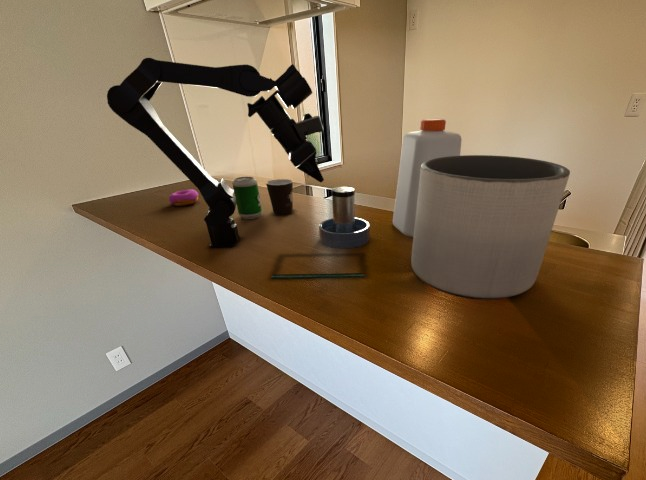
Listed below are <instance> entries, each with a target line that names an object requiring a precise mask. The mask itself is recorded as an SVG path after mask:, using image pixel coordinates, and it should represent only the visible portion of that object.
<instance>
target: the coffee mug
mask: <svg viewBox="0 0 646 480" xmlns="http://www.w3.org/2000/svg"><path fill="white" fill-rule="evenodd" d="M265 185H266V188H267V192H268V195H269V200H270V203H271V207H272V212H273V215H276V216H287V215H290V214H292V213H293V212H294V210H293V209H294V199H293V198H294V181H293V180H292V179H288V178H279V179H278V178H275V179H271V180H267V181H266V182H265Z"/></svg>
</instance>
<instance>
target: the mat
mask: <svg viewBox="0 0 646 480" xmlns="http://www.w3.org/2000/svg"><path fill="white" fill-rule="evenodd" d="M349 278H350V279H351V278H352V279H353V278H358V279H359V278H365V272H352V273H351V272H349V273H348V272H346V273H342V272H341V273H292V274H291V273H288V274H285V273H282V274H281V273H280V274H272V275H271V280H283V279H284V280H290V279H294V280H295V279H296V280H297V279H349Z"/></svg>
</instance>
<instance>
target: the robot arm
mask: <svg viewBox="0 0 646 480" xmlns="http://www.w3.org/2000/svg"><path fill="white" fill-rule="evenodd" d="M163 83H170V84H178V85H189V86H194V87H195V86H196V87H205V88H214V89H221V90H224V91H228V92H231V93H234V94H237V95H241V96H244V97H247V98H255V97H257V96H258V95H260V93H261V92H271V91H272V90H273V89H274V88H275V89H276V90H275V91H274V92H273V93H271V95H269V97H267V98H265V97H264V96H263V95H261V96H260V97H259V98H257V100H256V101H254V102H253V103H250V102H247V104H246V105H247V111H248V112H247V116H248V118H251V117H253V116H254V115H255V114H256V115H258V117H259V118H260V120H261V121H262V123H263V124H264V125H265V126H266V127H267V129H268V130H269V132H270V133H271V134H272V136H273V137H274V139H275V140H276V141H277V142H278V144H279V145H280V146H281V147H282V149H283V150H284V152H285V154H286V155H287V156H288V160H289V161H290V163H291V164H292V165H293V166H294V168H296V169H297V170H299V171H301V172H302V173H304V174H305V175H307V176H309V177H311V178H312V179H314V180H316V181H317V182H319V183H323V182H324V181H325V180H324V177H323V174H322V172H321V170H320V168H319V166H318V164H317V163H318V162H317V161H316V157H317V149H316V147H315V146H314V144H313V143H312V141H311V140H307V139H308V137H307V136H310V135H313V134H317V133H322V132H324V126H323V123H322V118H321V116H320V115H314V116H313V115H312V114H311V113H305V114H302V120H300V121H297V122H296V121H295V119H294V118H291V116H290V115H289V113H288V112H287V110H286V109H285V108H284V106H285V107H286V108H287V109H289V108H292V109H293V110H296V108H297V107H298V106H300V105H301V104H302V103H303V102H304V101H306V100H307V99H308V98H309V97H310V96H311V95H312V94H313V90H312V88H311V86H310V84H309V82H308V81H307V79H306V78H305V77H304V76H302V73H301V72H300V71H299V69H297V67H296V65H295V64H293V63H291V64H290V65H289V66H288V67H287V68H286V69H285V71H284V72H283V73H282V74H281V75H279V77H277V79H276V80H274V79H272V77H270V78H269V77H266V76H263V75H261V74H260V72H259V71H258V69H257V68H256V67H255V66H253V65H251V64H235V65H225V66H208V65H207V66H206V65H199V64H192V63H191V64H190V63H184V62H176V61H168V60H159V59H155V58H152V57H145V58H143V59H142V60H141V61H140V63H139V65H137V67H136V68H135V69H134V70H133V71H132V72H130V73H129V74H128V75H127V76H126V77H125V78H124V79H123V80H122V81H121V83H119V84H117V85H113V86H111V87H109V89H108V90H107V94H106V100H107V105H108V107H109V108H110V110H111V111H112V112H113V113H114V114H116V115H117V116H118V117H119V118H120V119H122V120H123V121H124V122H126V123H127V124H128V125H129V126H131V127H132V128H134V129H135V130H137V131H139V132H140V133H142V134H143V135H145V136H146V137H147V138H149V140H150V141H151V142H152V143H153V144H154V145H155V146H156V147H157V148H158V149H159V150H160V151H161V152H162V153H163V155H165V156H166V157H167V158H168V159H169V160H170V161H171V163H172V164H174V166H175V167H176V168H178V170H179V171H180V172H181V173H182V174H183V175H184V176H185V177H186V178H187V179H188V181H190V182H191V183H192V184H193V185H194V186H195V187H196V189H197V190H198V191H199V193H200V195H201V197H202V199H203V200H204V202H205V204H206V205H207V206H208V209H207V212H206V214H205V215H204V218H203V221H204V222H205V224H206V225H205V226H206V229H207V232H208V236H209V239H210V243H209V244H208V247H209V248H232V247H235V246H236V244H237V243H238V242H239V241H240V239H241V236H240V233H239V229H238V225H237V224H236V223H235V219H234V217H232V216H233V215H234V214H235V212H236V209H237V204H236V197H235V194H234V189H233V188H231V187H230V186H229V185H228V184H227V182H226V180H225V179H224V178H221V179H220V181H218V180H217V179H215V178H214V177H212V176H211V175H210V174H209V173H208V171H206V169H204V167H202V165H201V164H200V163H199V162H198V161H197V160H196V159H195V158H194V156H193V155H192V154H191V153H190V152H189V151H188V150H187V149H186V148H185V147H184V146H183V145H182V144H181V142H179V140H178V139H177V138H176V137H175V136H174V135H173V134H172V133H171V131H169V130H168V128H167V127H166V126H165V124H163V122H162V120H161V119H160V117H159V115H158V112H157V111H156V110H155V108H154V106H153V104H152V103H151V102H150V101H151V100H152V99H153V97H154V96H155V94H156V92H157V91H158V90H159V88H160V86H161V85H163ZM276 95H277V96H278V97H279V99H280V100H281V102H282V103H283V105H284V106H283V105H282V103H281V102H280V101H279V99H278V98H277V96H276Z"/></svg>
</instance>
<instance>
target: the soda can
mask: <svg viewBox="0 0 646 480" xmlns="http://www.w3.org/2000/svg"><path fill="white" fill-rule="evenodd" d="M231 184H232V190H234V195H235V197H236V209H237V214H238V215H239V216H240V217H241V218H242V219H243V220H255V219H257V218H260V217H261V215H262V213H263V209H262V203H261V198H260V192H259V185H258V181H257V179H255V178H254V177H253V176H239V177H236V178H234V180H233V181H232V183H231Z"/></svg>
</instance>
